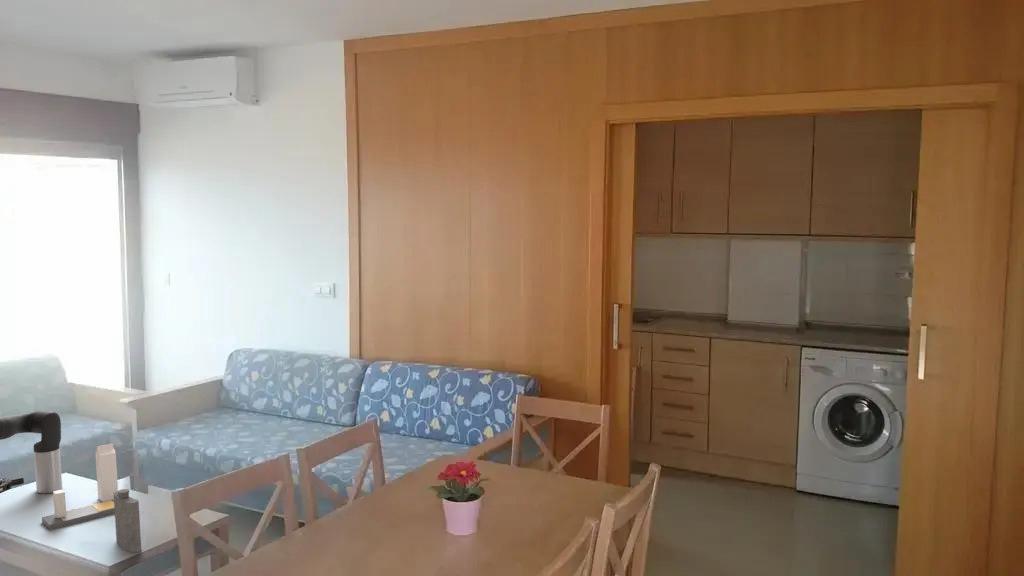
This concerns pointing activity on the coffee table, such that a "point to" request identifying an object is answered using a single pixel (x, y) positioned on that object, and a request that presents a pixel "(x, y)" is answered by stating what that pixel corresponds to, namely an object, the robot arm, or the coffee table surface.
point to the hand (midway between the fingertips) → (23, 480)
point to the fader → (59, 503)
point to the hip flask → (127, 521)
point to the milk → (106, 472)
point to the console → (79, 515)
